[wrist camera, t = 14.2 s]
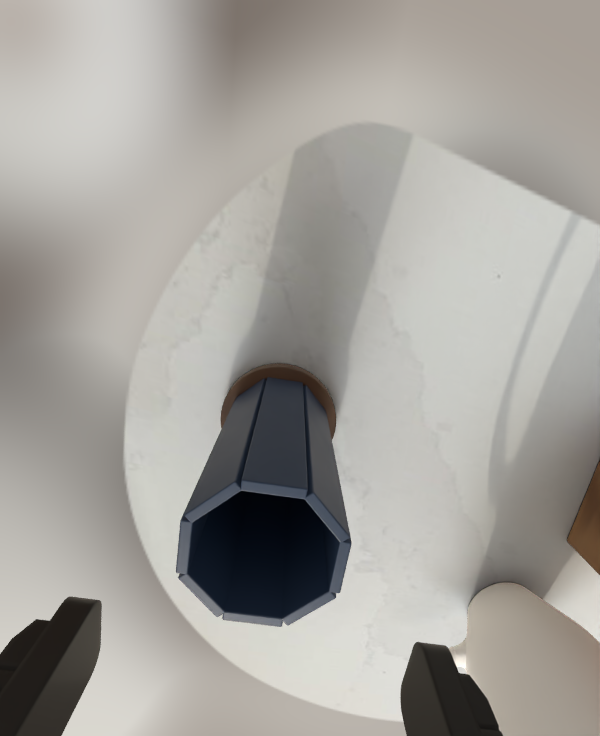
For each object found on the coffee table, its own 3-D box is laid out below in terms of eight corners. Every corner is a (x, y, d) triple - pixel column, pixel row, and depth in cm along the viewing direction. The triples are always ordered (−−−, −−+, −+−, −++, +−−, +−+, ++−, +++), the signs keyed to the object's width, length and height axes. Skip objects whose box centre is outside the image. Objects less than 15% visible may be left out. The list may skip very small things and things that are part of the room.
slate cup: (237, 372, 22) (184, 471, 12) (332, 386, 23) (362, 496, 12) (227, 457, 24) (171, 614, 13) (316, 470, 24) (330, 633, 14)
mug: (565, 554, 27) (766, 775, 15) (558, 650, 29) (728, 904, 18) (399, 572, 27) (473, 801, 16) (405, 665, 30) (473, 924, 18)
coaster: (229, 354, 23) (227, 358, 22) (344, 372, 23) (346, 376, 23) (217, 459, 25) (214, 465, 24) (324, 474, 25) (325, 480, 24)
